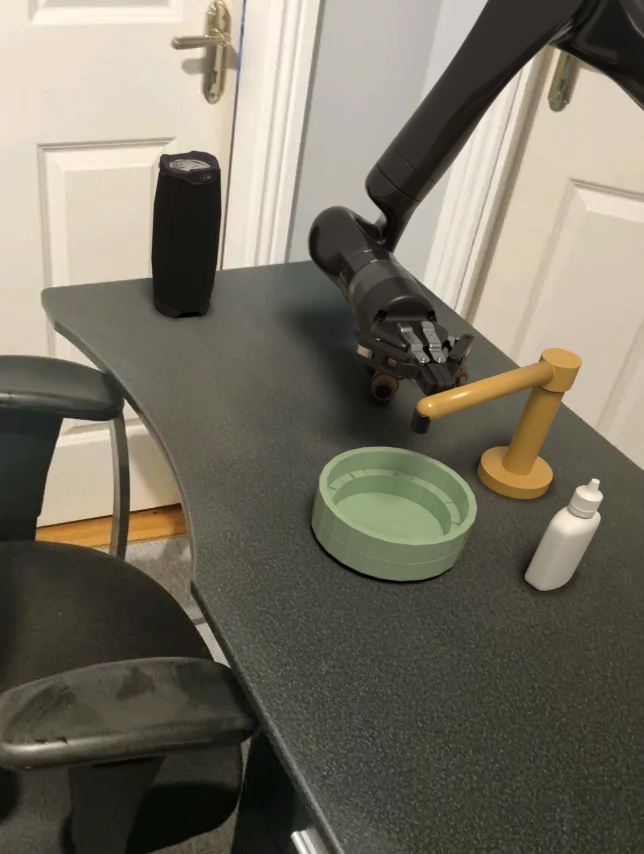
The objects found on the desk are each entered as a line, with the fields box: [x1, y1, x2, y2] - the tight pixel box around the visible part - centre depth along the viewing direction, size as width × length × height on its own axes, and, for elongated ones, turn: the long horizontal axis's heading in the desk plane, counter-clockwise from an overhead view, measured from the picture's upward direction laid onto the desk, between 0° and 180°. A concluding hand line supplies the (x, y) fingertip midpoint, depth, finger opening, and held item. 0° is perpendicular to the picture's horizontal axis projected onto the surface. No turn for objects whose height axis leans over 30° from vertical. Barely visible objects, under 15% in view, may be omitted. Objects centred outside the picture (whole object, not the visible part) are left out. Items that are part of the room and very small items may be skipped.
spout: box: [409, 347, 583, 435], centre depth 84 cm, size 21×4×3 cm, turn 121°
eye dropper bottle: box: [523, 478, 604, 592], centre depth 81 cm, size 4×6×12 cm
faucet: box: [369, 359, 469, 402], centre depth 110 cm, size 5×17×15 cm
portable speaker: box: [150, 149, 223, 319], centre depth 114 cm, size 9×9×20 cm
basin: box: [311, 446, 478, 582], centre depth 86 cm, size 16×16×6 cm
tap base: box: [476, 385, 566, 500], centre depth 93 cm, size 8×8×12 cm
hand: (443, 393), depth 82 cm, fingers closed
